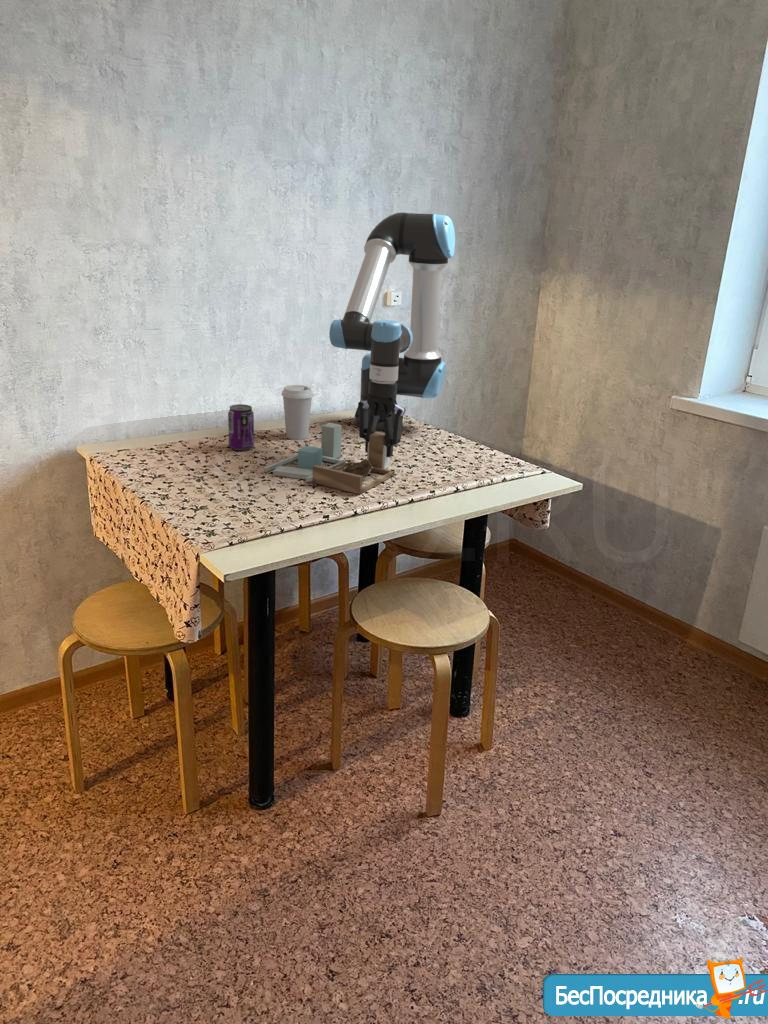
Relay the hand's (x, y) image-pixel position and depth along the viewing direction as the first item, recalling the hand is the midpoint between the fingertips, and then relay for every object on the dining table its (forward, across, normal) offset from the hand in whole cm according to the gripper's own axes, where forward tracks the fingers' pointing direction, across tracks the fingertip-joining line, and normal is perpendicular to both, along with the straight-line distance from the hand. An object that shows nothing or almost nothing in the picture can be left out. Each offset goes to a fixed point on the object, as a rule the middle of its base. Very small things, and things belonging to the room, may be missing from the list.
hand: (377, 465), depth 211 cm
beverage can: (+1, -40, -9) cm, 41 cm away
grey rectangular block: (+1, -14, -19) cm, 24 cm away
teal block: (+1, -15, -11) cm, 19 cm away
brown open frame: (0, 0, -10) cm, 10 cm away
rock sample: (+1, -2, -13) cm, 13 cm away
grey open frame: (0, -15, -10) cm, 18 cm away
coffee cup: (0, -34, +10) cm, 35 cm away
